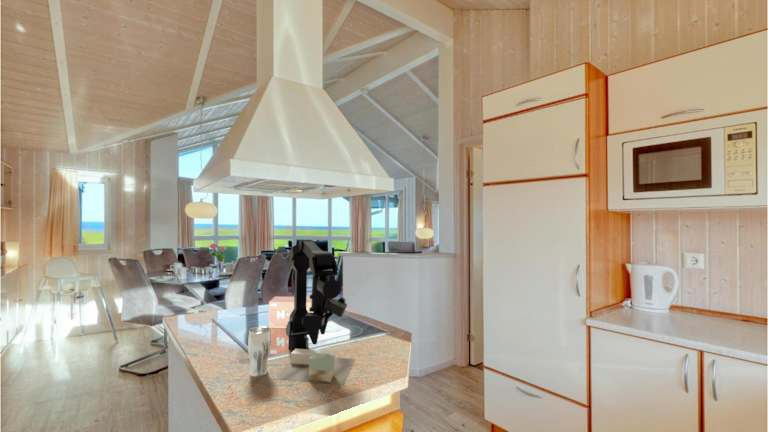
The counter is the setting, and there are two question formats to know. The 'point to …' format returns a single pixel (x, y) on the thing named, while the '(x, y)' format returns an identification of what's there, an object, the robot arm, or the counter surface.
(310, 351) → the cream block
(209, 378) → the counter surface
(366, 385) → the counter surface
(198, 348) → the counter surface
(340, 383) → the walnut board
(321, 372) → the maple base block
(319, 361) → the sage green block
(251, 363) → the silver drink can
